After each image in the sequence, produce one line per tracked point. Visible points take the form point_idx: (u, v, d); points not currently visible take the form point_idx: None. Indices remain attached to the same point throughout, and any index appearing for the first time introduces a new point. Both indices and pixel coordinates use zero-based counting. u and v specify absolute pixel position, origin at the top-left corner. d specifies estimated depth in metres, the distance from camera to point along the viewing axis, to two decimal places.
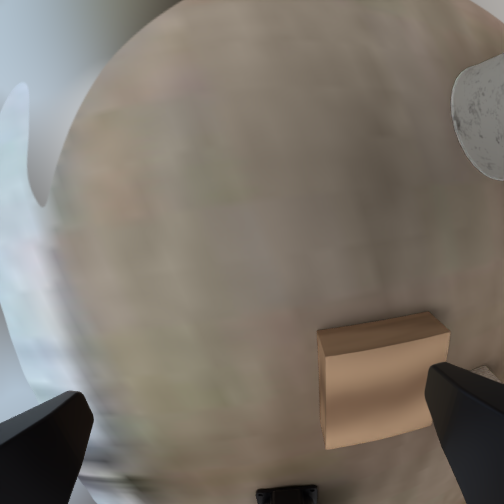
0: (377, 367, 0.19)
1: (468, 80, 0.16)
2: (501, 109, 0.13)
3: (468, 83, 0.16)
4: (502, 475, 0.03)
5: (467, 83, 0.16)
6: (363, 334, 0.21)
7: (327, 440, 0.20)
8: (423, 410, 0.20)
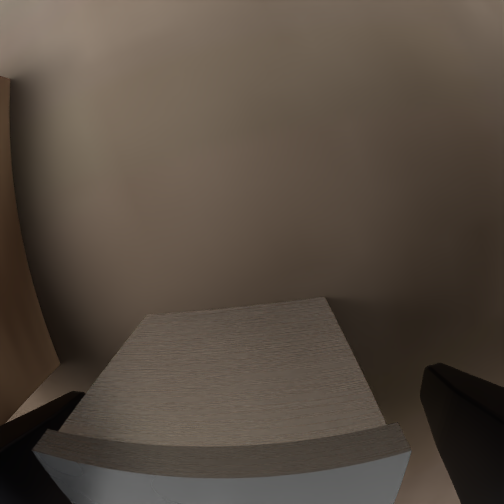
0: None
1: None
2: None
3: None
4: (497, 478, 0.03)
5: None
6: None
7: None
8: None
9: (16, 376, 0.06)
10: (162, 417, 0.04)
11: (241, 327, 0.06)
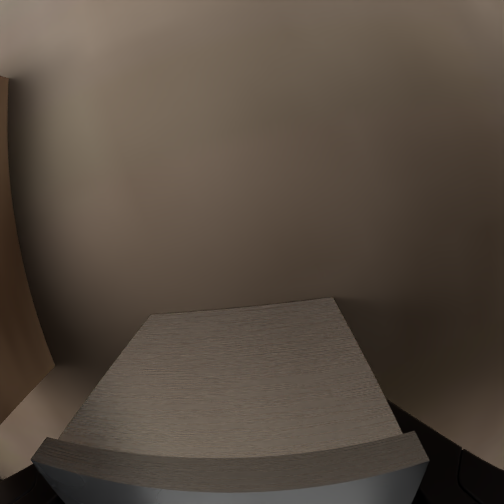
0: None
1: None
2: None
3: None
4: None
5: None
6: None
7: None
8: None
9: (12, 377, 0.06)
10: (167, 425, 0.04)
11: (248, 329, 0.06)
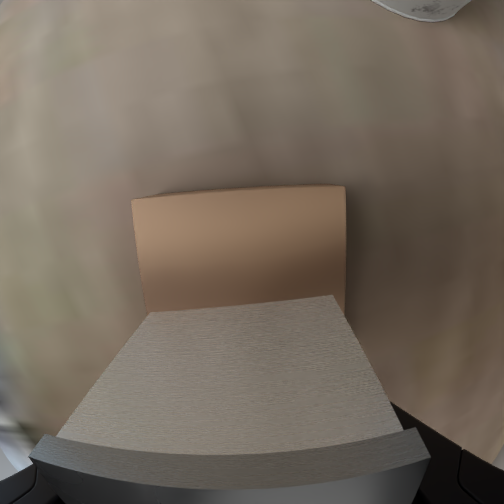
0: (212, 229, 0.13)
1: None
2: None
3: None
4: None
5: None
6: (208, 190, 0.15)
7: None
8: None
9: None
10: (166, 422, 0.04)
11: (248, 327, 0.06)
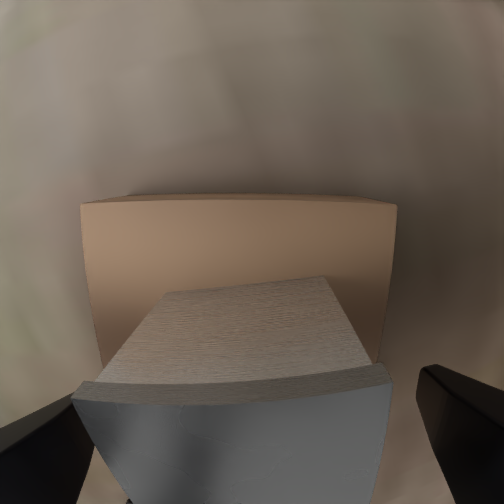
0: (193, 256, 0.09)
1: None
2: None
3: None
4: (492, 480, 0.03)
5: None
6: (193, 195, 0.10)
7: None
8: None
9: None
10: (186, 366, 0.05)
11: (251, 299, 0.08)
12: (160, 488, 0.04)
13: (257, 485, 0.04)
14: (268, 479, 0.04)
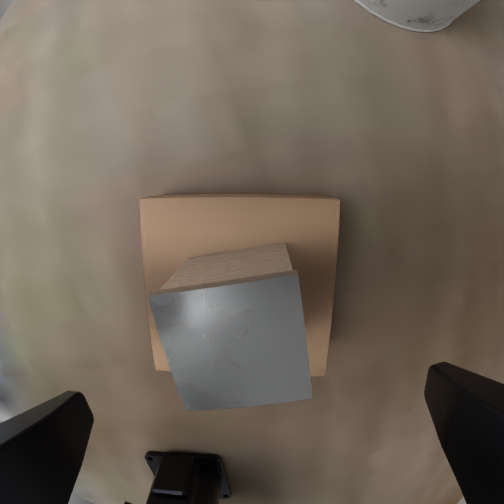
0: (214, 231, 0.14)
1: None
2: None
3: None
4: (502, 475, 0.03)
5: None
6: None
7: (154, 352, 0.16)
8: None
9: None
10: (205, 280, 0.11)
11: (239, 255, 0.13)
12: (190, 353, 0.10)
13: (241, 341, 0.10)
14: (247, 336, 0.10)
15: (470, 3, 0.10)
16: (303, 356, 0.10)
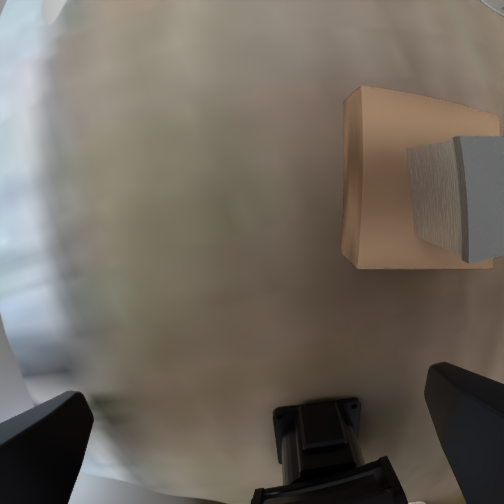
0: (425, 124, 0.13)
1: None
2: None
3: None
4: (502, 475, 0.03)
5: None
6: None
7: (361, 246, 0.15)
8: None
9: None
10: None
11: None
12: (483, 193, 0.09)
13: None
14: None
15: None
16: None
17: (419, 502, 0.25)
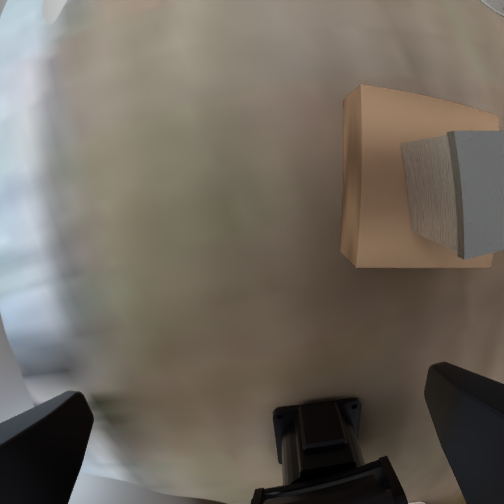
0: (424, 123, 0.13)
1: None
2: None
3: None
4: (502, 475, 0.03)
5: None
6: None
7: (360, 244, 0.15)
8: None
9: None
10: None
11: None
12: (479, 189, 0.09)
13: None
14: None
15: None
16: None
17: (419, 502, 0.25)
